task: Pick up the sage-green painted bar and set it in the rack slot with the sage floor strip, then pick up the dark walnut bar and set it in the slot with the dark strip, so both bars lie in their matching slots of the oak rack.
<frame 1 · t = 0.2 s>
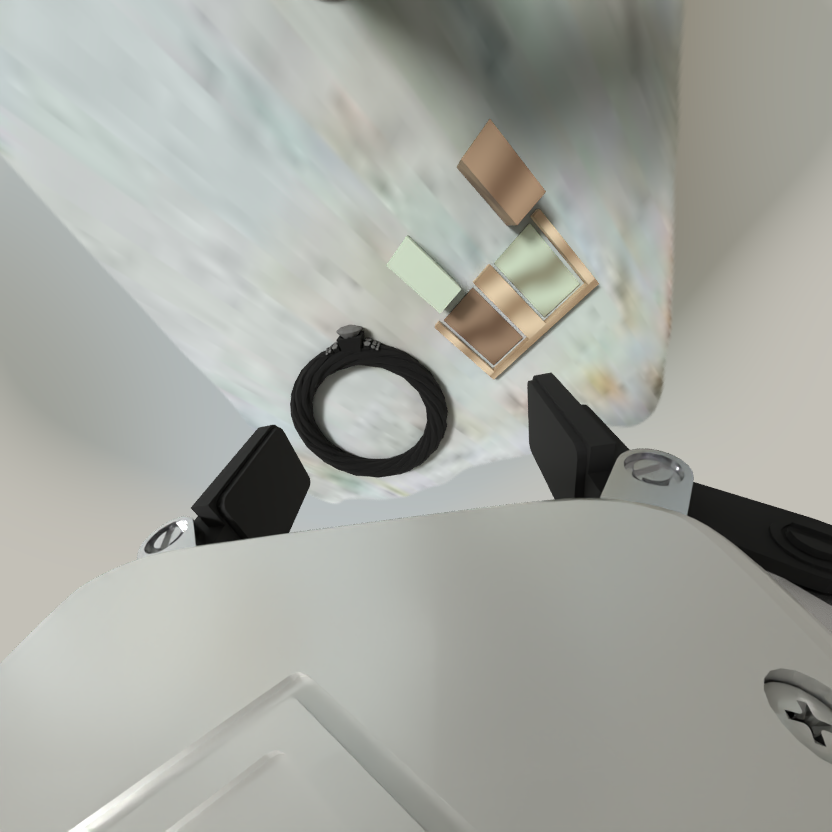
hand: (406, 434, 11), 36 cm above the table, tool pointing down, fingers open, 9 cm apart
cable lock: (370, 406, 54), on the table
oak rack: (509, 302, 43), on the table
walnut bar: (494, 182, 36), on the table
sage bar: (424, 272, 41), on the table
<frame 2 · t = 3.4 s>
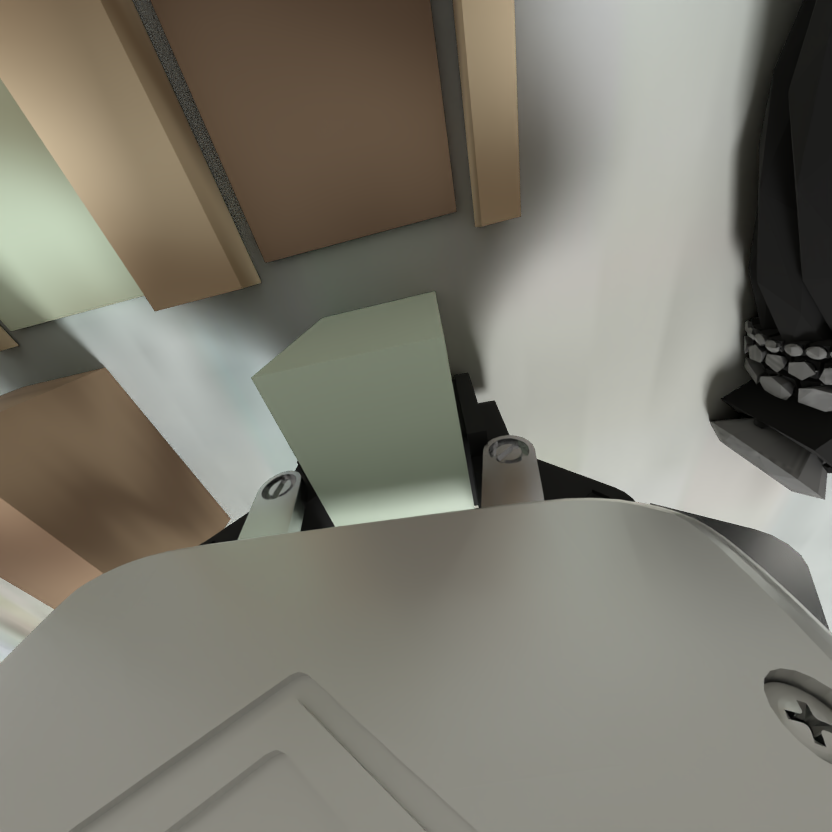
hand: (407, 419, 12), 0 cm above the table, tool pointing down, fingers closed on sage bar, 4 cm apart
oak rack: (76, 22, 7), on the table
walnut bar: (144, 460, 14), on the table
sage bar: (408, 415, 12), on the table, touching gripper
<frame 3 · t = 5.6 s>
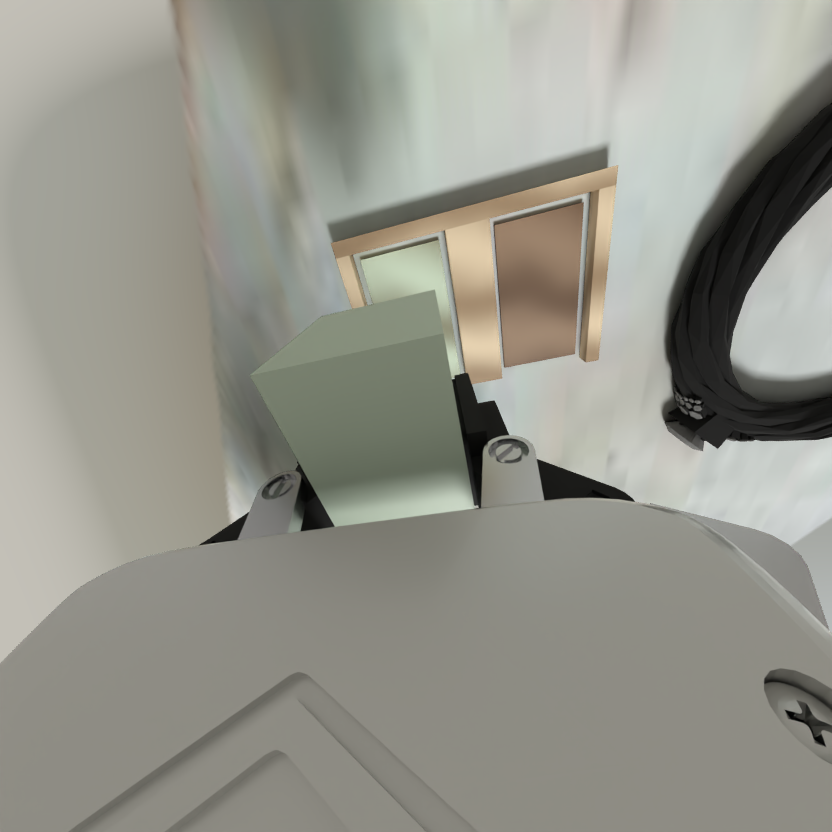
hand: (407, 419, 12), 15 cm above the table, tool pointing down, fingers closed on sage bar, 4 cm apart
oak rack: (474, 309, 24), on the table
sage bar: (407, 414, 12), point 15 cm above the table, touching gripper
when the fingers open (2 cm above the table, at t = 8.2 s): sage bar drops 2 cm, resting on oak rack.
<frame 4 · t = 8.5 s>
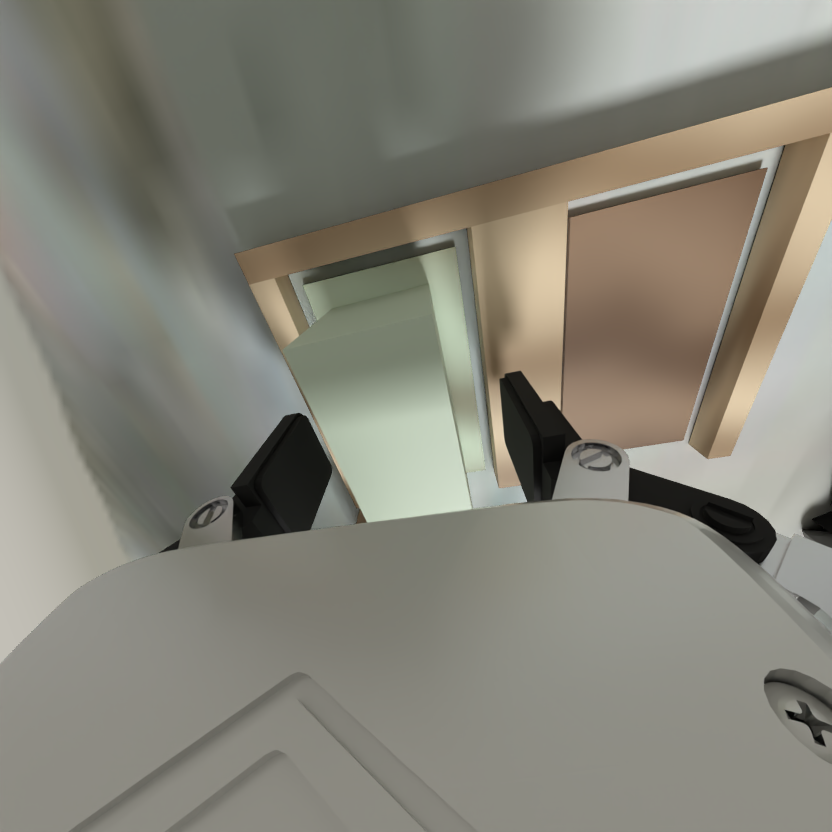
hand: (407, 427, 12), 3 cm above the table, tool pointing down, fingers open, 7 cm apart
oak rack: (516, 371, 13), on the table
sage bar: (407, 394, 14), resting on oak rack
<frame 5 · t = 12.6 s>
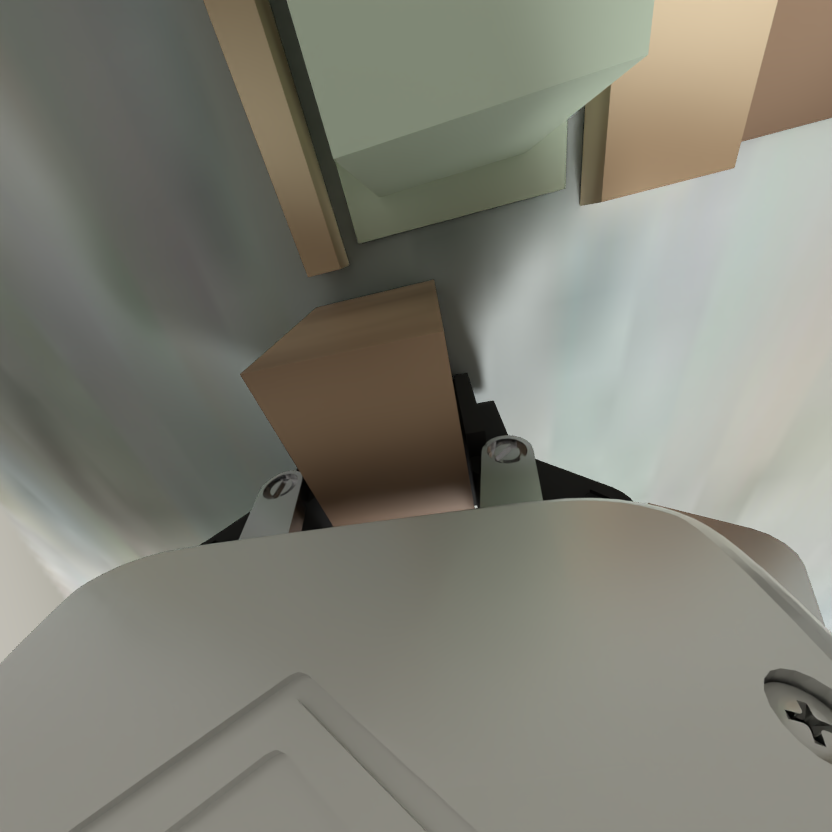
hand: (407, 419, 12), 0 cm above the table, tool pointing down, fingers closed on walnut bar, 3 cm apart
walnut bar: (406, 408, 12), on the table, touching gripper
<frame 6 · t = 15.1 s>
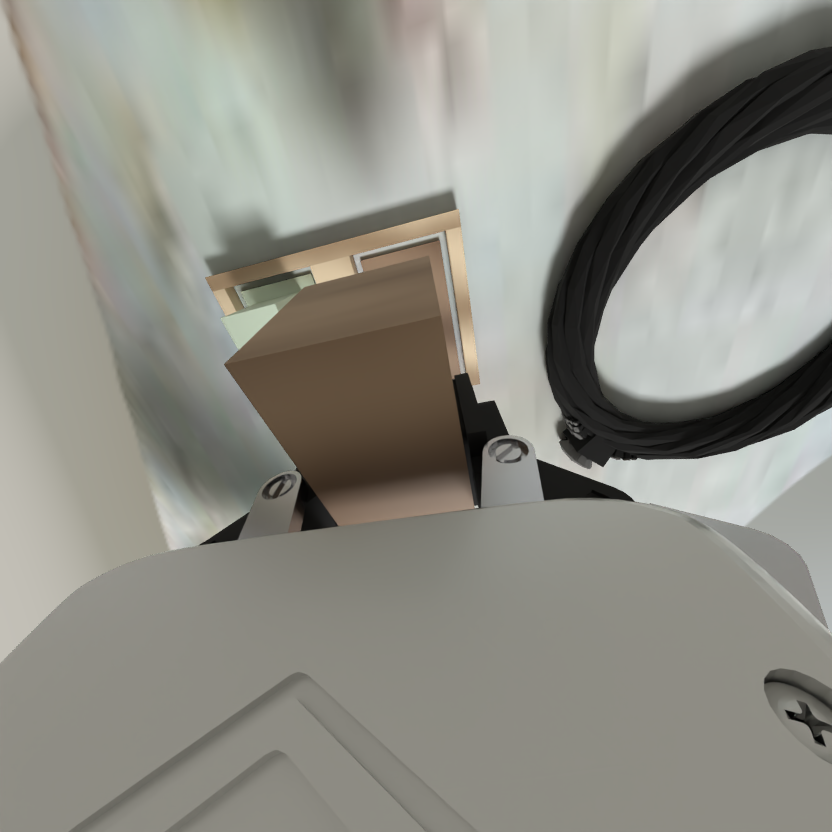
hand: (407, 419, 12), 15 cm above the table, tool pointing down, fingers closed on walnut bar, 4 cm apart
cable lock: (697, 321, 25), on the table
oak rack: (358, 336, 25), on the table
walnut bar: (401, 391, 12), point 14 cm above the table, tilted 7°, touching gripper
sage bar: (303, 350, 26), resting on oak rack
when the fingers open (2 cm above the table, at t = 17.6 s): walnut bar drops 2 cm, resting on oak rack.
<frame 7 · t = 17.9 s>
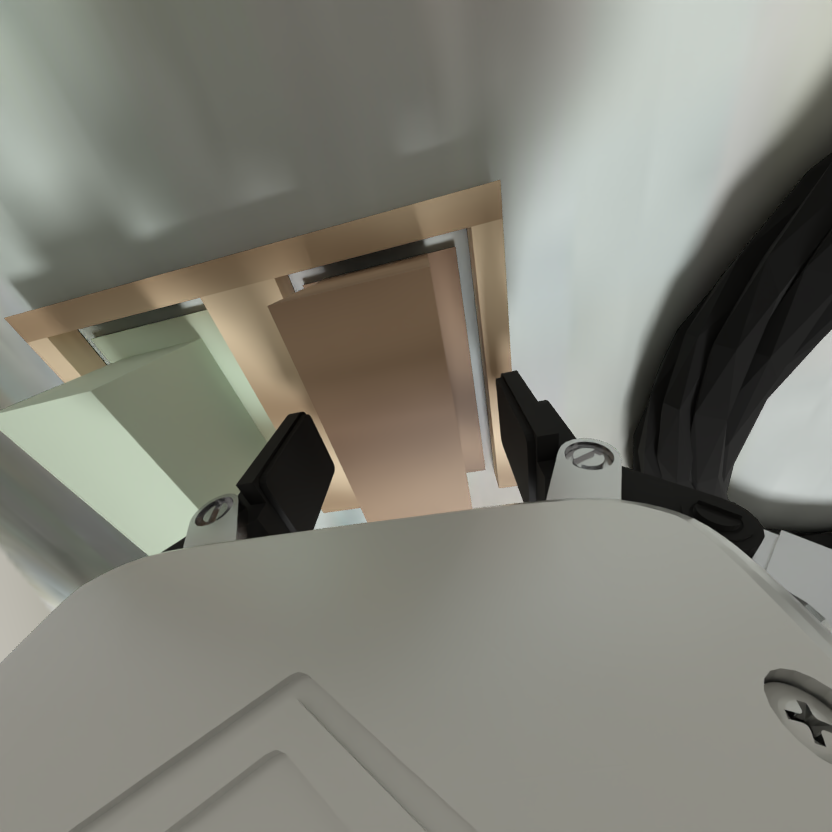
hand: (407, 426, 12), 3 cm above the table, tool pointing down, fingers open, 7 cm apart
oak rack: (312, 410, 15), on the table
walnut bar: (403, 374, 13), resting on oak rack
sage bar: (220, 430, 15), resting on oak rack
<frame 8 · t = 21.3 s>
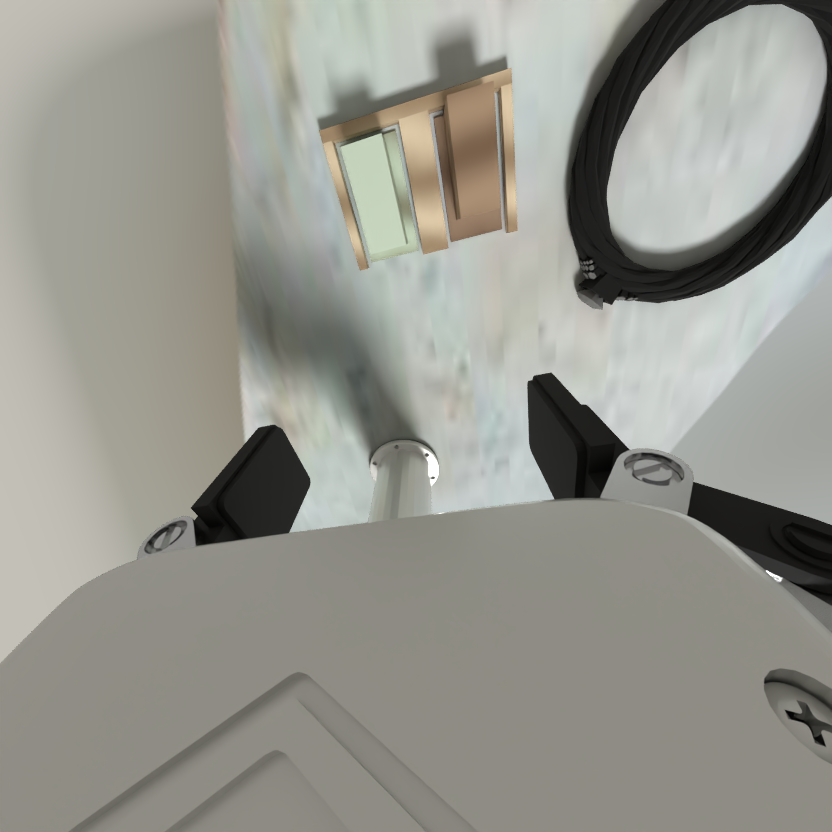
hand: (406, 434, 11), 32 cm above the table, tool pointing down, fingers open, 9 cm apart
cable lock: (684, 176, 32), on the table
oak rack: (425, 190, 33), on the table
walnut bar: (468, 166, 32), resting on oak rack
sage bar: (381, 203, 34), resting on oak rack
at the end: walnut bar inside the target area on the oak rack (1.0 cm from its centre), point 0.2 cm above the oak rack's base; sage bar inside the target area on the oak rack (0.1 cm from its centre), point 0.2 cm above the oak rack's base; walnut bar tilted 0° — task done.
